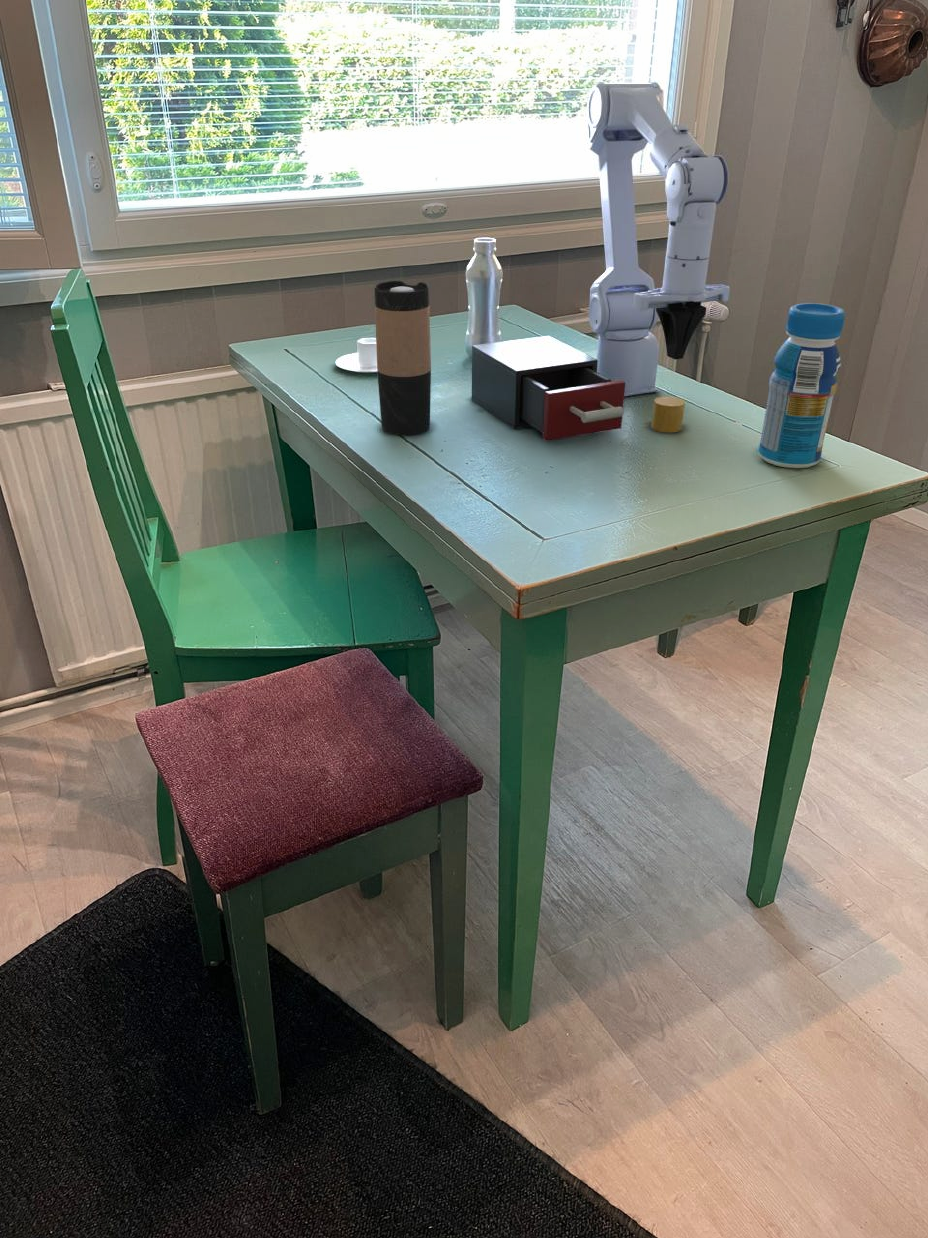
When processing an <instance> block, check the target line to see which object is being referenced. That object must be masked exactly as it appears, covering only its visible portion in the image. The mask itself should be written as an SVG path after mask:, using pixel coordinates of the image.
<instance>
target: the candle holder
mask: <svg viewBox="0 0 928 1238" xmlns="http://www.w3.org/2000/svg"><path fill="white" fill-rule="evenodd" d="M356 345H357V346H356V348H357V352H353V353H349V354H345V355H342V356H340V357H338V358H337V359H336V360H335V365H336V366H337V367H338V368H340V369H342V370H345V371H349V372H350V371H351V372H354V373H361V374H362V373H363V374H378V373H377V371H378V370H377V349H376V337H363V338H360V339H358V340H357V341H356Z"/></svg>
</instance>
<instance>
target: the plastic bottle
mask: <svg viewBox="0 0 928 1238" xmlns="http://www.w3.org/2000/svg"><path fill="white" fill-rule="evenodd" d="M496 245H497V244H496V239H495V238H491V237H477V238H475V239H474V240H473V249H472V251H473V252H474V256H473V257H472V258H471V259H470V261H469V262H468V264H467V266H466V268H465V269H466V270H465V281H466V282H465V283H466V290H467V301H468V317H467V327H466V328H467V330H466V334H465V341H464V347H465V352H466V354H467V356H468V357H469V358H471V359H472V345H479V344H487V343H495V342H502V336H501V331H500V329H501V328H500V316H499V315H500V313H499V312H500V306H499V305H500V299H501V298H500V296H501V289H502V282H503V275H504V272H503V268H502V265H501V263H500V262H499V260H498V259H497V257H496V255H495V253H496V252H497V248H496Z"/></svg>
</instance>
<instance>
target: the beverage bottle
mask: <svg viewBox="0 0 928 1238" xmlns="http://www.w3.org/2000/svg"><path fill="white" fill-rule="evenodd" d="M787 315H788V316H787V319H786V320H787V321H786V327H785V331H786V333H785V334H786V335H787V336H788V338H787V339H786V340H785V341H784V343H783V344H782V345H781V346H780V347H779V349H778V351H777V352H776V354H775V356H774V360H773V364H774V365H775V369H774V370H773V372H772V373H771V375H770V378H769V383H768V385H769V389H768V394H767V395H768V396H767V402H766V407H765V414H764V418H763V419H764V420H763V424H762V431H761V437H760V442H759V445H758V455H759V457H760V458H761V459H762V460H763V461H764V462H766V463H768V464H771V465H773V466H776V467H782V468H786V469H805V468H811V467H814V466H815V465H817V464H818V463H820V460H821V457H822V453H823V445H824V442H825V437H826V432H827V426H828V423H829V418H830V414H831V409H832V404H833V400H834V395H835V394H836V392H837V390H838V378H837V373H838V372H839V371H840V370H841V366H842V365H841V363H842V362H841V354H840V351H839V349H838V346H837V344H836V341H837V340H839V339H840V337H841V335H842V333H843V328H844V323H845V318H846V312H845V310H844V309H842V308H841V307H839V306H836V305H831V304H825V303H817V302H815V303H814V302H813V303H812V302H808V303H807V302H806V303H805V302H804V303H798V304H794V305H792V306H791V307H790V308H789V311H788V314H787Z"/></svg>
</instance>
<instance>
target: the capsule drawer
mask: <svg viewBox="0 0 928 1238" xmlns="http://www.w3.org/2000/svg"><path fill="white" fill-rule="evenodd" d="M624 393H625V382H624V381H622V380H619V381H612V382H611V379H609V378H607V377H606V376H604V375H602V374H600V373H598V372H596V371H594V370H592V369H590V368H588V367H580V368H572V369H565V370H558V371H551V372H544V373H537V374H530V375H523V376H521V390H520V417H519V418H521V419H522V420H524V421H525V422H527V423H528V424H530V425H531V426H530V427H532V428H534V429H536V430H537V431H539V432H541V433H542V439H543V440H544V441H545V442H550V441H558V440H562V439H569V438H573V437H579V436H585V435H591V434H598V433H603V432H608V431H613V430H619V429H622V424H623V423H622V422H623V416H624V402H625V396H624Z"/></svg>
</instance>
